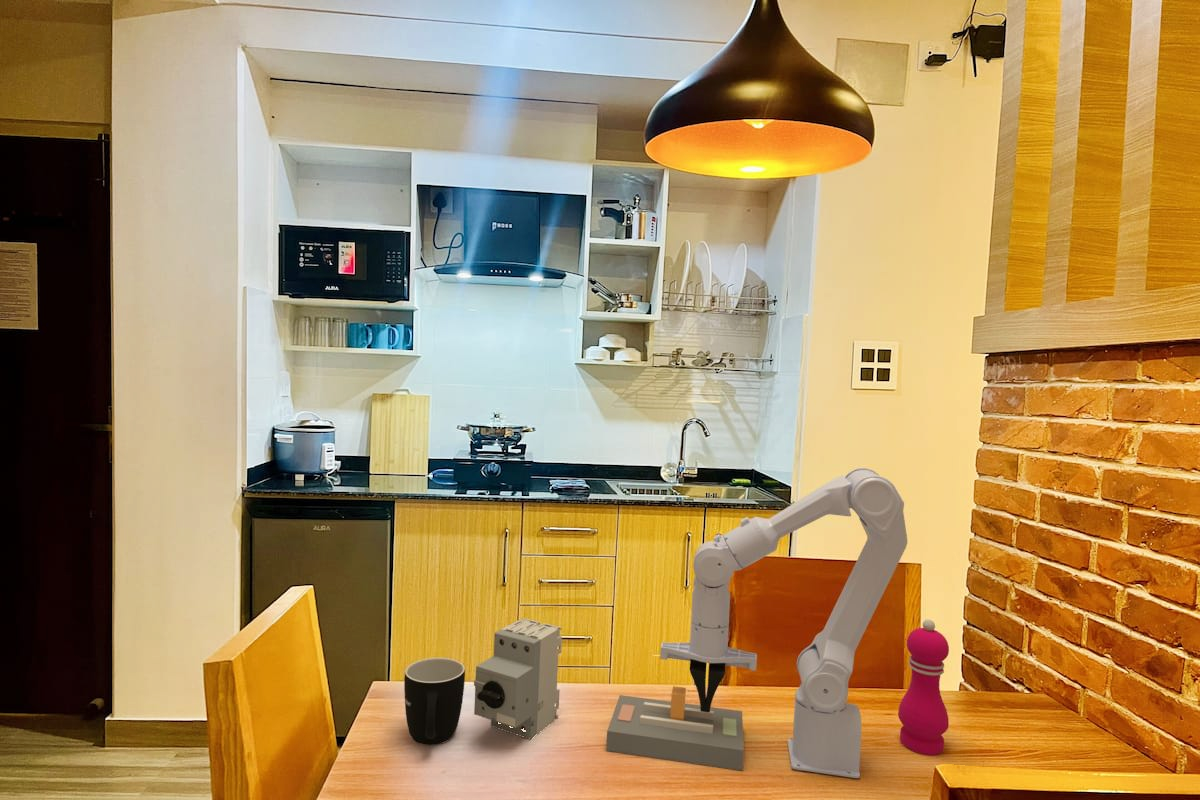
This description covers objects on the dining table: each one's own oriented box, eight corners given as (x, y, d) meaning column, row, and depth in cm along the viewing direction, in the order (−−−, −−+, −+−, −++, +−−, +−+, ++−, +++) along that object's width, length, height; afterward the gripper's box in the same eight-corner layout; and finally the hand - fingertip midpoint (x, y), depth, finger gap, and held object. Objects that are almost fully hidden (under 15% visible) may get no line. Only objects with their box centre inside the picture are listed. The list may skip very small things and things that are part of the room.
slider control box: (741, 729, 110) (742, 705, 110) (742, 770, 99) (744, 743, 99) (619, 712, 114) (620, 689, 114) (606, 750, 102) (607, 724, 102)
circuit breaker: (466, 744, 102) (469, 645, 102) (520, 705, 115) (523, 617, 115) (507, 758, 99) (511, 656, 99) (558, 717, 112) (562, 626, 111)
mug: (405, 720, 108) (408, 657, 108) (463, 718, 110) (466, 656, 110) (396, 763, 97) (398, 693, 96) (460, 760, 98) (463, 691, 98)
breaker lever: (684, 715, 107) (685, 687, 107) (683, 724, 105) (684, 695, 105) (671, 714, 108) (673, 686, 108) (670, 722, 105) (671, 694, 105)
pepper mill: (941, 737, 111) (949, 615, 110) (951, 761, 104) (960, 631, 103) (893, 729, 113) (900, 609, 112) (900, 752, 106) (908, 624, 105)
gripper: (757, 618, 108) (752, 703, 108) (665, 608, 110) (660, 691, 111) (759, 634, 101) (754, 725, 101) (660, 623, 103) (656, 711, 104)
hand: (705, 708), depth 105 cm, fingers closed
